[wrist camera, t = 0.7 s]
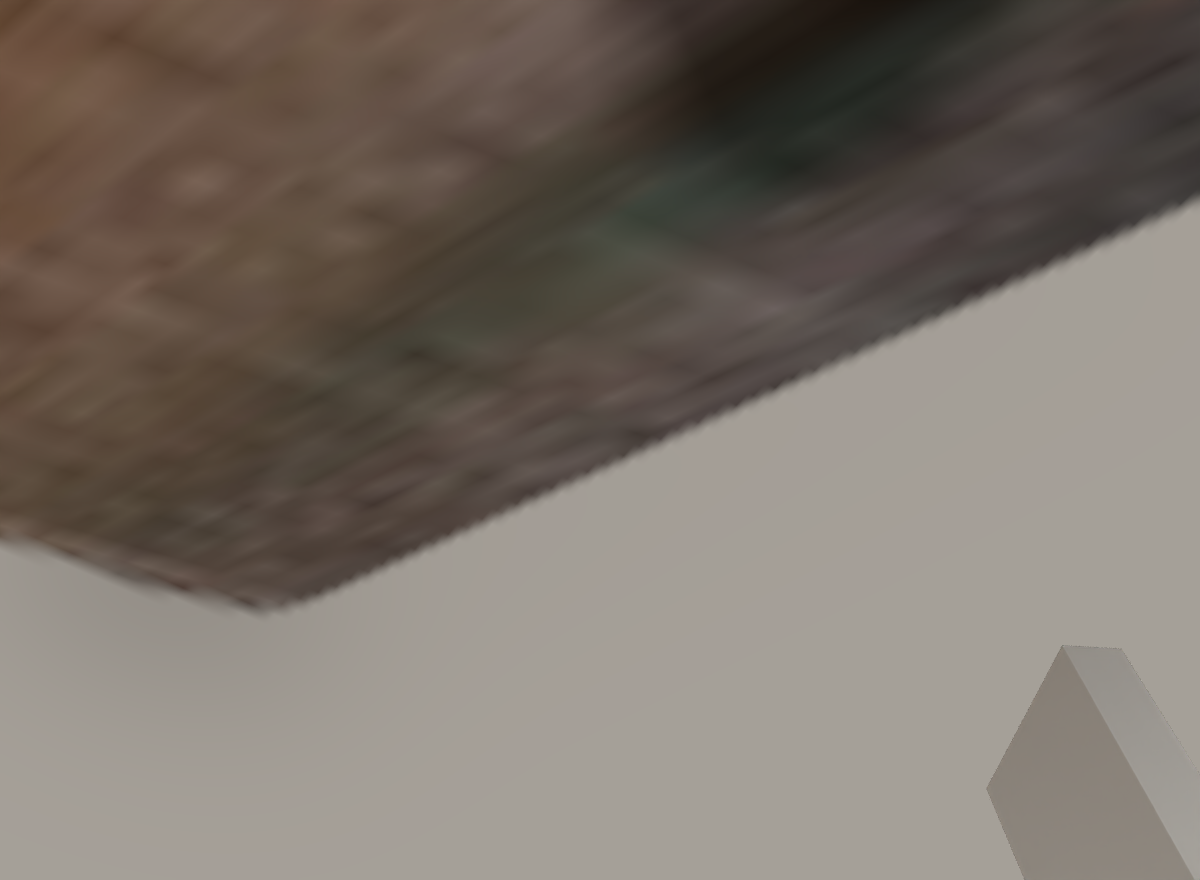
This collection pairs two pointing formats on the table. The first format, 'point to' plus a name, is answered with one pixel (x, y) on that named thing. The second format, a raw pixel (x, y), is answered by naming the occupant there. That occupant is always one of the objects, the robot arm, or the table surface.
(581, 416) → the table surface
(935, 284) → the table surface
